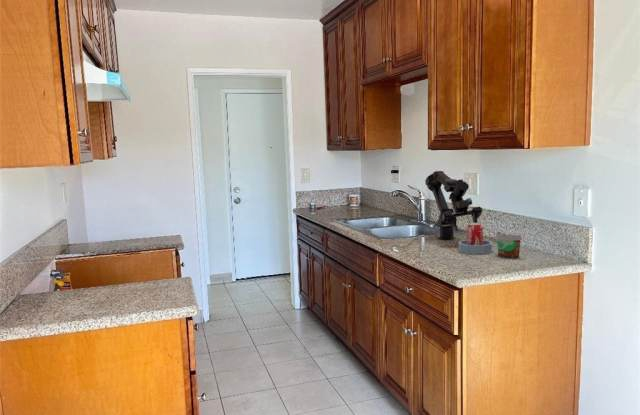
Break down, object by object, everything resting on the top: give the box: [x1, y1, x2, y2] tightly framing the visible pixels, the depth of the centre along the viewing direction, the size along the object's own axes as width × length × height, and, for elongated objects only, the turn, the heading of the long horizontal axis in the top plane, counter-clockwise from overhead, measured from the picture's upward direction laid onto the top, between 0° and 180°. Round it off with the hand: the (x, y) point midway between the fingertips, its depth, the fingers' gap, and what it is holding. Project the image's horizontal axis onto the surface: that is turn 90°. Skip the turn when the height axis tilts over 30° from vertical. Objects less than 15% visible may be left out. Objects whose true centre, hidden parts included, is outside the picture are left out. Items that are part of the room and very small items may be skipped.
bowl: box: [457, 239, 493, 256], centre depth 227 cm, size 15×15×4 cm
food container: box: [494, 231, 523, 259], centre depth 214 cm, size 12×6×10 cm, turn 27°
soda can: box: [466, 222, 484, 245], centre depth 227 cm, size 7×7×12 cm
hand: (467, 229), depth 235 cm, fingers open, 9 cm apart
